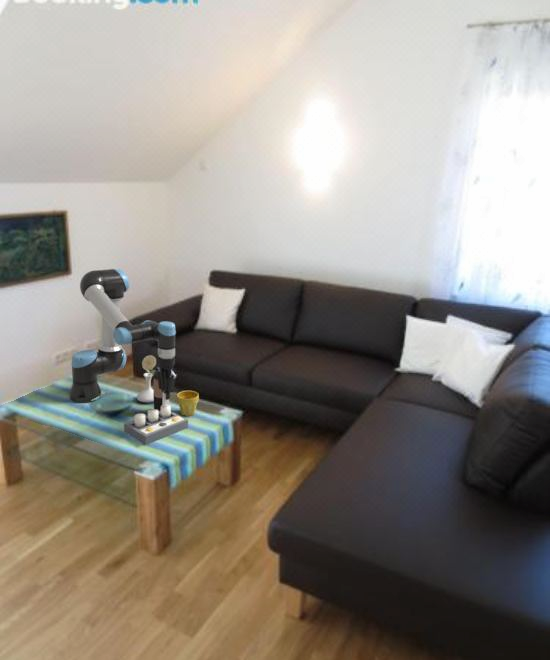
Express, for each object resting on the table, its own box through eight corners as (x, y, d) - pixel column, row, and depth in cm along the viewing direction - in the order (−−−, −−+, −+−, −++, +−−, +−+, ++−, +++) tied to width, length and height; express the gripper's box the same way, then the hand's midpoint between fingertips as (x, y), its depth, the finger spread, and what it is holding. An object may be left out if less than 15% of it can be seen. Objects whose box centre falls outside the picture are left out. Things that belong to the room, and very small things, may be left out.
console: (123, 431, 219) (123, 423, 218) (165, 416, 236) (165, 408, 235) (145, 445, 209) (145, 436, 208) (187, 428, 226) (188, 420, 225)
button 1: (132, 425, 217) (132, 415, 216) (141, 422, 221) (141, 412, 220) (138, 429, 215) (138, 419, 213) (147, 426, 218) (147, 415, 217)
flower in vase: (132, 398, 252) (132, 352, 246) (152, 393, 260) (152, 348, 253) (145, 407, 243) (145, 359, 237) (165, 402, 251) (166, 355, 244)
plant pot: (173, 415, 237) (173, 396, 235) (182, 407, 247) (182, 389, 244) (193, 419, 235) (193, 400, 232) (201, 410, 245) (202, 392, 242)
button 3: (158, 416, 228) (158, 406, 227) (166, 413, 231) (166, 403, 230) (164, 419, 225) (164, 409, 224) (172, 416, 229) (172, 407, 227)
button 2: (145, 421, 223) (145, 410, 221) (154, 418, 226) (154, 408, 225) (152, 424, 220) (152, 414, 219) (160, 421, 223) (160, 411, 222)
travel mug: (155, 415, 236) (155, 376, 231) (151, 408, 242) (151, 370, 237) (171, 413, 240) (171, 374, 234) (166, 406, 246) (167, 369, 241)
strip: (139, 431, 212) (139, 429, 212) (178, 416, 228) (178, 415, 228) (145, 434, 209) (145, 433, 209) (184, 419, 225) (184, 418, 225)
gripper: (150, 354, 221) (150, 402, 228) (168, 362, 214) (168, 412, 220) (164, 351, 227) (163, 398, 233) (182, 358, 219) (181, 407, 226)
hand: (165, 405), depth 227 cm, fingers closed
